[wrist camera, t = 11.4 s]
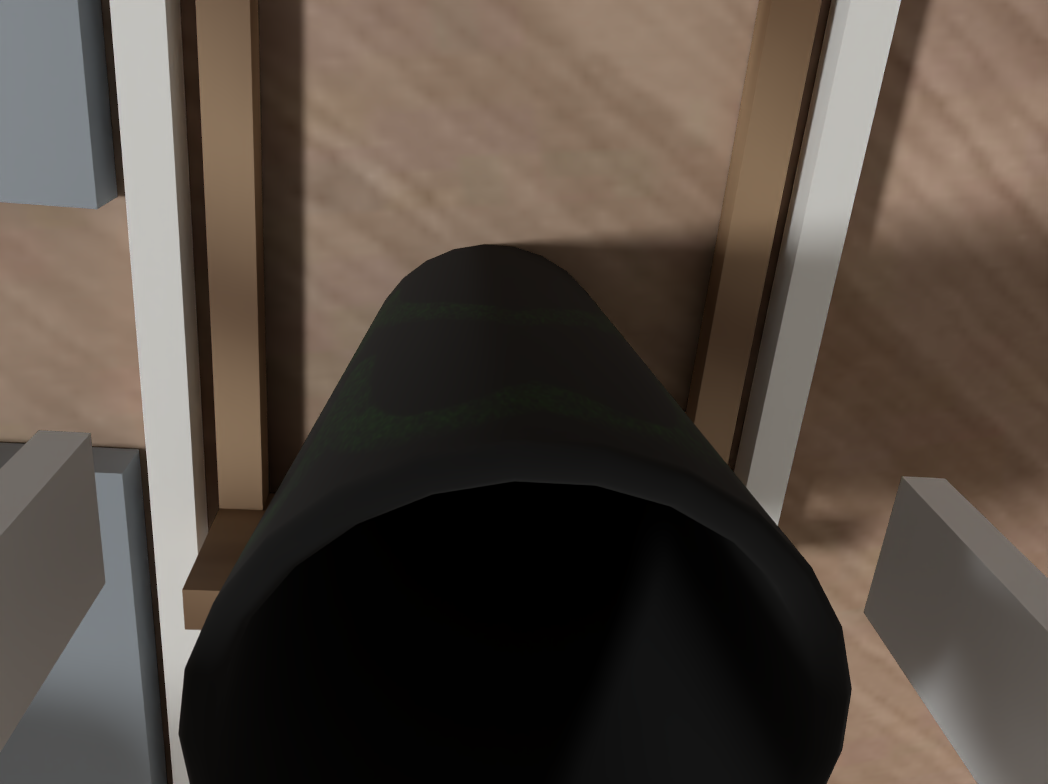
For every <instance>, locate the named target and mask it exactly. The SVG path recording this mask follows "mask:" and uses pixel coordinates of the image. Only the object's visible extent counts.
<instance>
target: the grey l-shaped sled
mask: <svg viewBox="0 0 1048 784" xmlns="http://www.w3.org/2000/svg"><path fill="white" fill-rule="evenodd" d="M116 197H118V196H117V184H116V172H115V161H114V149H113V137H112V125H111V113H110V102H109V90H108V78H107V66H106V54H105V43H104V31H103V19H102V7H101V0H0V202H7V203H21V204H35V205H48V206H62V207H76V208H89V209H98V208H100V207H101V206H103V205H105V204H106V203H108V202H110V201H111V200H113V199H115V198H116Z"/></svg>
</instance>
